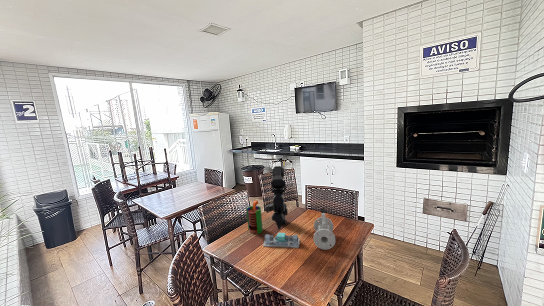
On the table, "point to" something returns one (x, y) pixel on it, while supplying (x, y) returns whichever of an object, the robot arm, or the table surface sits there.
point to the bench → (291, 242)
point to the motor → (254, 218)
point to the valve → (324, 232)
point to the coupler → (281, 237)
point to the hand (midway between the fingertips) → (280, 225)
